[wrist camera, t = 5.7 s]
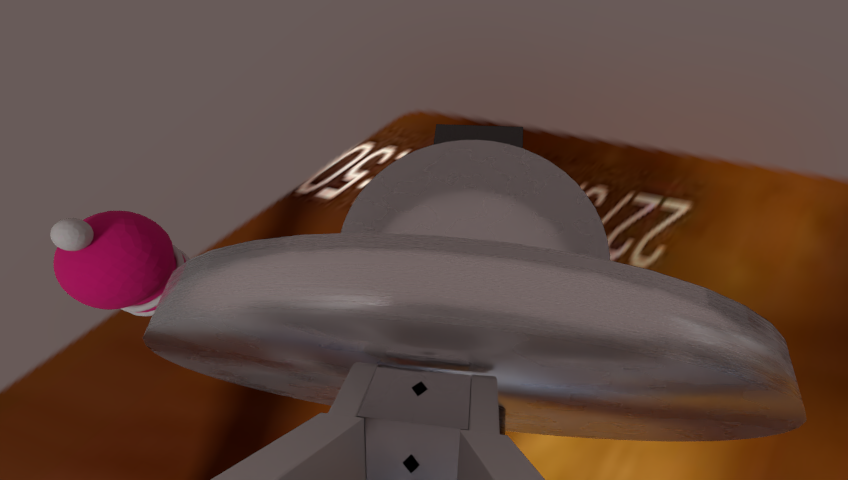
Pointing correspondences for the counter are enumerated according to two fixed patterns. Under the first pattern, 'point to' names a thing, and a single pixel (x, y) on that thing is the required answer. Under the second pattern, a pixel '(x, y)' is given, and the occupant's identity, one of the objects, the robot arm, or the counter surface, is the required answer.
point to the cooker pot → (480, 195)
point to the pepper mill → (115, 260)
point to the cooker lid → (484, 332)
